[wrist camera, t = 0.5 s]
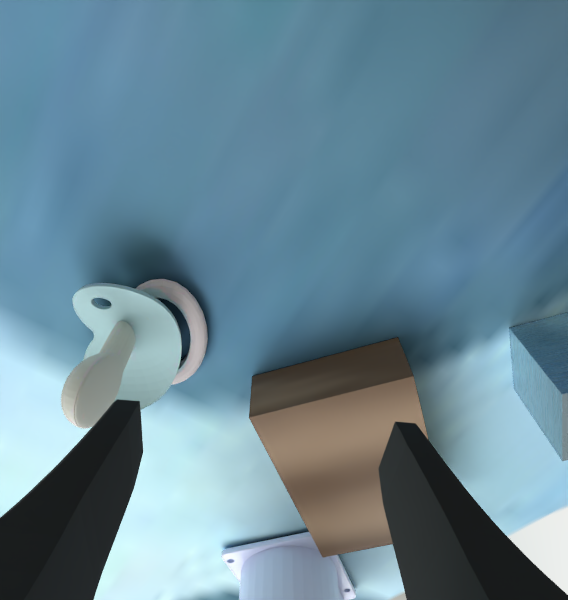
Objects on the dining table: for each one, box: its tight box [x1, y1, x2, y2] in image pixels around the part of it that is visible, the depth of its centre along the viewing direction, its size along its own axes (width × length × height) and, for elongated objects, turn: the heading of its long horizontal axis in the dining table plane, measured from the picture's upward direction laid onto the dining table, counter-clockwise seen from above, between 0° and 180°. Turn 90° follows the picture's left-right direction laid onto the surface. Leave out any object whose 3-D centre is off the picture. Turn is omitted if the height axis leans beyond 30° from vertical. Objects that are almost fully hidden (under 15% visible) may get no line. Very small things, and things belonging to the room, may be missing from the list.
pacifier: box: [61, 279, 208, 428], centre depth 20 cm, size 7×6×6 cm
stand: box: [249, 337, 429, 557], centre depth 25 cm, size 13×8×3 cm, turn 18°
